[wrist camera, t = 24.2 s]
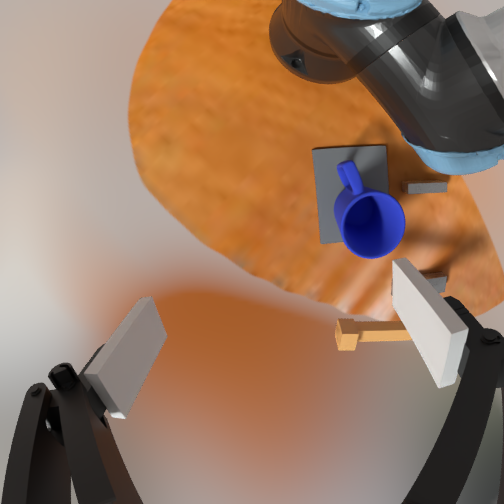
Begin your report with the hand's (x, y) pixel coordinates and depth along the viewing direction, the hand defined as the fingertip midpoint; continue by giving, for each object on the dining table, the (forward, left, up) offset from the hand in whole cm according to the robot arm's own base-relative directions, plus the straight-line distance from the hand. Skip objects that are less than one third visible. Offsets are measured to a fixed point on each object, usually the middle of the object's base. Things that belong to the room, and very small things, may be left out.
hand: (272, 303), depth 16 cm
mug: (+1, +11, -30) cm, 31 cm away
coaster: (+1, +11, -30) cm, 32 cm away
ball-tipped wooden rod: (+16, +15, -17) cm, 28 cm away
